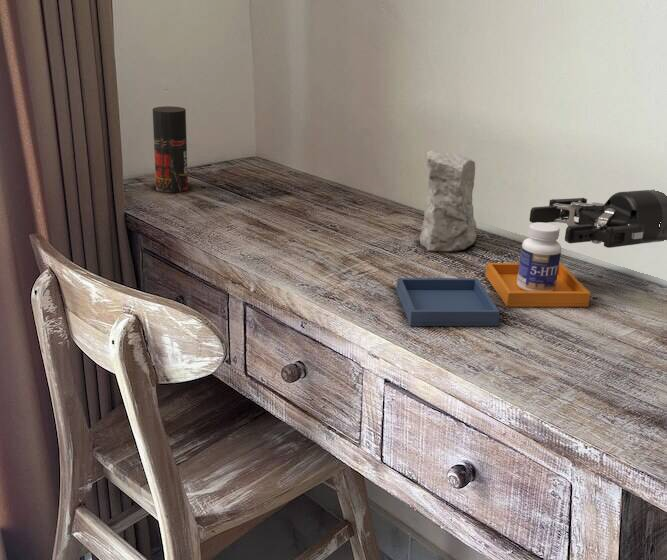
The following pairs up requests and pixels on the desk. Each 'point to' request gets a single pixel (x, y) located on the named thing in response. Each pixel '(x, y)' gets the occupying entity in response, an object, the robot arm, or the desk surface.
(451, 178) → the decorative stone
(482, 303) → the slate-blue tray
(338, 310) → the desk surface
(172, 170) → the deodorant
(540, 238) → the pill bottle
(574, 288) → the amber tray
